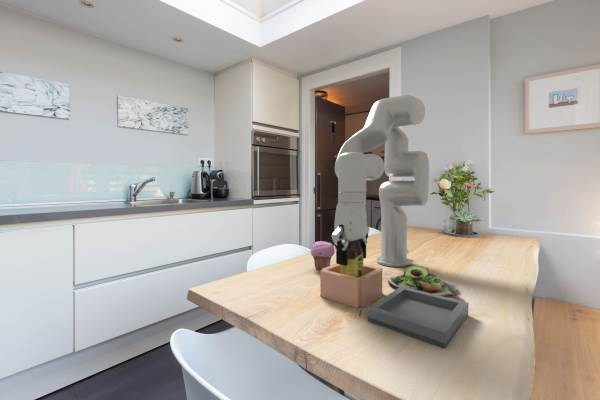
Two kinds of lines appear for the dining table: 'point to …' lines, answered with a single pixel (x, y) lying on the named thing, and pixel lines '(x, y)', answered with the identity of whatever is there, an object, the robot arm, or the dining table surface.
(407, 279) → the salad plate
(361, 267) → the sauce bottle
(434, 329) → the tray
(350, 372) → the dining table surface
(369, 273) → the square terracotta planter
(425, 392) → the dining table surface
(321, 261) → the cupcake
